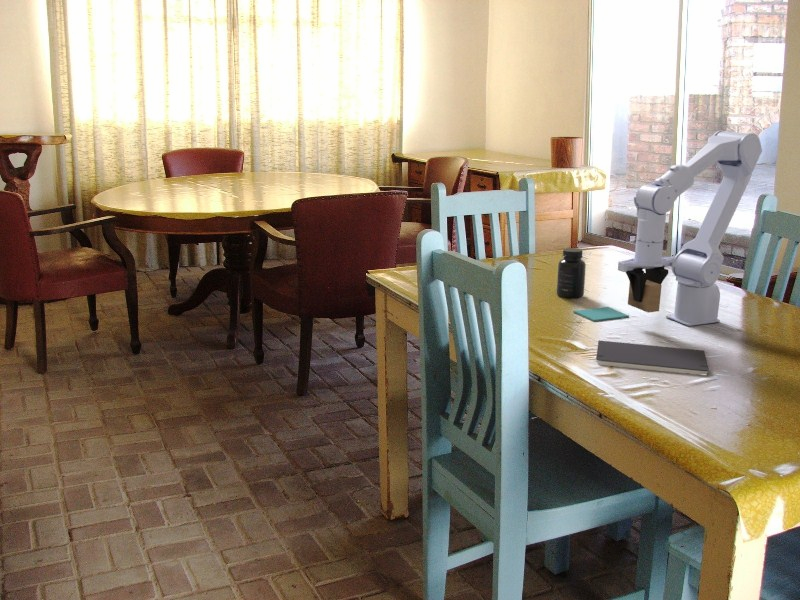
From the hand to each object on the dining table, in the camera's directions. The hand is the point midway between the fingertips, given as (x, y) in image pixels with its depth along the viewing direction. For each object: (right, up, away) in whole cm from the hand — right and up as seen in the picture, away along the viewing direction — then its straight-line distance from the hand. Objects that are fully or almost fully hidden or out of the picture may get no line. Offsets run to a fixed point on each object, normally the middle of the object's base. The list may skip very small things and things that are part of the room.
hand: (644, 300), depth 192 cm
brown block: (0, -2, +1) cm, 2 cm away
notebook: (-4, -13, -18) cm, 23 cm away
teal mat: (-7, -3, +11) cm, 14 cm away
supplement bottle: (-11, +1, +28) cm, 30 cm away
